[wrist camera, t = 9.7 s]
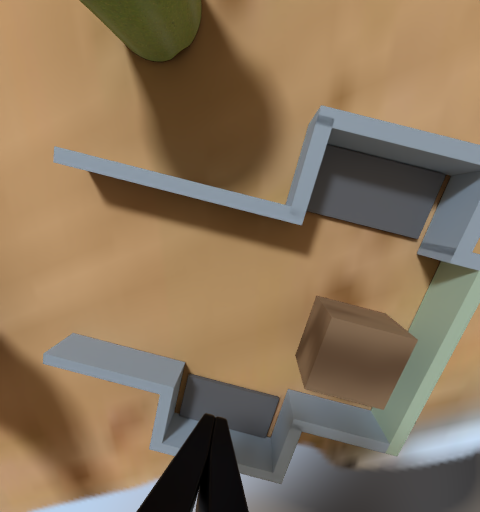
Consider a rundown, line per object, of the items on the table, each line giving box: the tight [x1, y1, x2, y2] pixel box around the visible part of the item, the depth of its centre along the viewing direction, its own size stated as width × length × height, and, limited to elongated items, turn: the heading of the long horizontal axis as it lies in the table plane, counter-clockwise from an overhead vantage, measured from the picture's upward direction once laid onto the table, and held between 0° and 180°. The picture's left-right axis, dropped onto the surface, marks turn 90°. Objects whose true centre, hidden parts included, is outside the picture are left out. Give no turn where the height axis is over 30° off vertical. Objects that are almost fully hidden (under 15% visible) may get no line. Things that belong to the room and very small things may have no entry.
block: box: [295, 296, 418, 410], centre depth 18 cm, size 6×6×4 cm
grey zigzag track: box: [43, 105, 480, 484], centre depth 18 cm, size 29×30×3 cm
